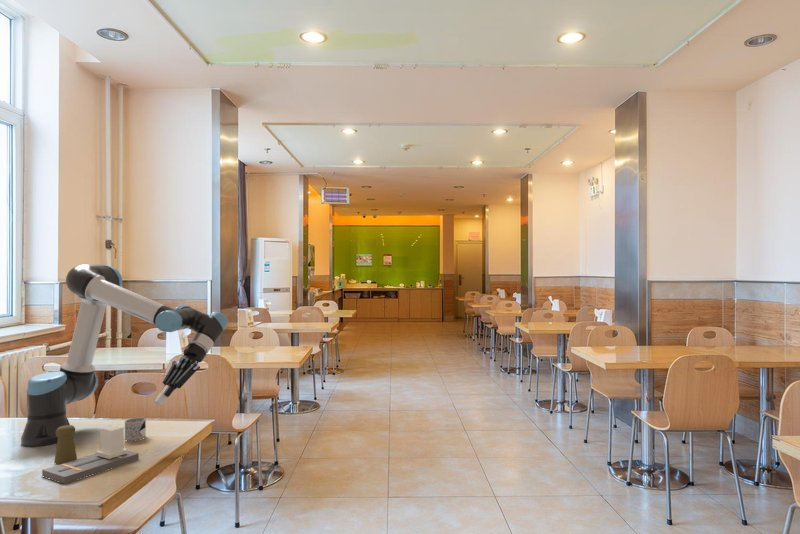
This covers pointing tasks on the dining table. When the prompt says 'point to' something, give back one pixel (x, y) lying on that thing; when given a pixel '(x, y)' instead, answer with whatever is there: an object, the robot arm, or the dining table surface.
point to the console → (86, 467)
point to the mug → (135, 429)
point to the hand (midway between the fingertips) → (157, 403)
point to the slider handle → (111, 442)
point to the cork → (65, 445)
